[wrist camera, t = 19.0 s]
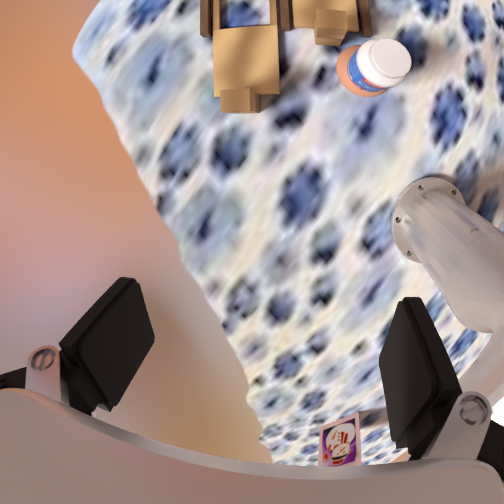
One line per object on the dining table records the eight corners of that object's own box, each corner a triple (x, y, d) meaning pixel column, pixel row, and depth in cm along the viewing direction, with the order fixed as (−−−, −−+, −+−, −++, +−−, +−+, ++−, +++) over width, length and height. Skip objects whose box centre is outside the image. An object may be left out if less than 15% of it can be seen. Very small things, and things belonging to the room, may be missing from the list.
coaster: (388, 50, 25) (389, 50, 24) (390, 100, 28) (391, 100, 27) (335, 43, 26) (335, 42, 25) (336, 93, 29) (337, 93, 28)
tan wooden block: (353, -10, 21) (362, -33, 15) (359, 48, 25) (371, 33, 19) (291, -14, 22) (288, -39, 16) (294, 43, 27) (292, 26, 20)
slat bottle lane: (275, -22, 22) (268, -47, 16) (280, 112, 31) (275, 110, 25) (214, -17, 23) (197, -38, 17) (216, 114, 32) (197, 114, 26)
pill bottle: (349, 92, 28) (367, 82, 19) (342, 52, 26) (357, 29, 17) (390, 93, 27) (421, 86, 18) (384, 54, 25) (411, 34, 16)
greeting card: (356, 410, 54) (359, 465, 41) (371, 419, 56) (374, 470, 43) (318, 425, 59) (315, 476, 46) (334, 434, 61) (332, 482, 48)
